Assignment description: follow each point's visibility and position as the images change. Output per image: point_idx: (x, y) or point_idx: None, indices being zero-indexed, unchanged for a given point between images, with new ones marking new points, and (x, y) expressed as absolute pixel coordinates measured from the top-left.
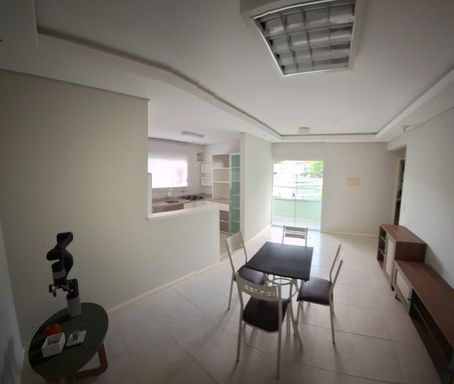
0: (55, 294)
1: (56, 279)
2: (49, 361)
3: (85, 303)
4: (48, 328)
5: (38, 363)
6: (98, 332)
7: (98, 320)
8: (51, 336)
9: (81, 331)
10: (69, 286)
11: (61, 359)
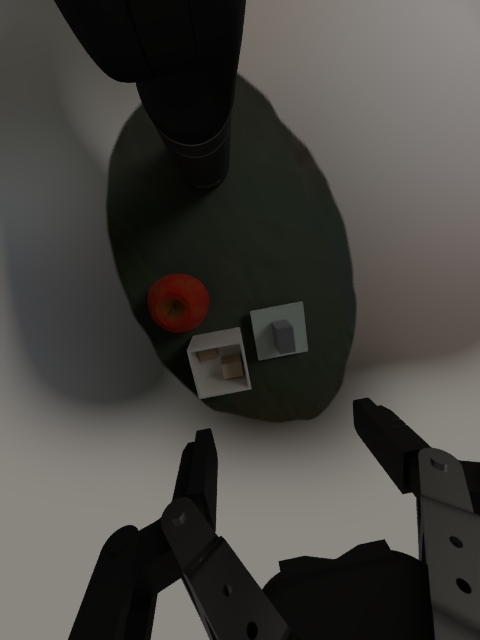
0: (214, 481)
1: None
2: None
3: None
4: (166, 316)
5: None
6: (341, 309)
7: (325, 241)
8: (201, 349)
9: (286, 306)
10: (464, 490)
11: (261, 392)
